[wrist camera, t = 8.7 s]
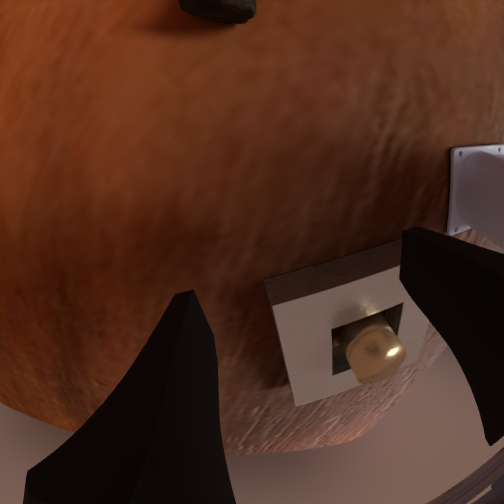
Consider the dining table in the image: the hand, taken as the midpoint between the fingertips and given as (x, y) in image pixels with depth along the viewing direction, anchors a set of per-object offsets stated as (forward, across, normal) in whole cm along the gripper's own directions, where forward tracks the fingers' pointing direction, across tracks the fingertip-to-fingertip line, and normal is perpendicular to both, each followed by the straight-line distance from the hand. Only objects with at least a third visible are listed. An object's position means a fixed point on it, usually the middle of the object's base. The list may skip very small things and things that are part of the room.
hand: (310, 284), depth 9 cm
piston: (+9, -6, +13) cm, 17 cm away
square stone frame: (+9, -6, +13) cm, 17 cm away
